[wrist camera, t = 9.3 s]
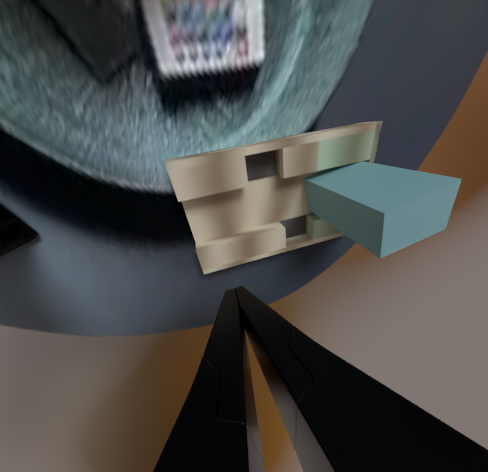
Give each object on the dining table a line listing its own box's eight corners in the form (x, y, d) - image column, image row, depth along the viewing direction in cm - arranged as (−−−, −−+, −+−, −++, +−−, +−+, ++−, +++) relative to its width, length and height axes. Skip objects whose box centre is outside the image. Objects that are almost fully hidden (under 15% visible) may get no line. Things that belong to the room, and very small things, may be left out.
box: (203, 261, 23) (204, 274, 21) (168, 159, 17) (164, 163, 15) (345, 223, 25) (359, 231, 23) (362, 122, 19) (382, 121, 17)
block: (308, 210, 22) (380, 258, 14) (303, 178, 20) (384, 213, 12) (349, 191, 22) (445, 228, 14) (348, 158, 20) (461, 178, 12)
